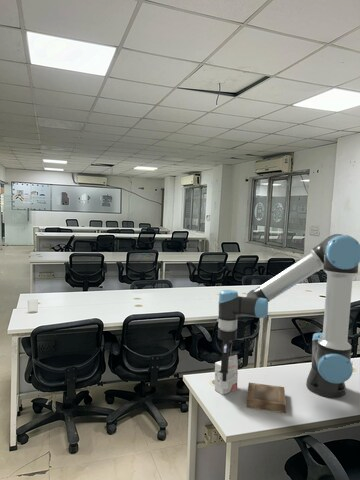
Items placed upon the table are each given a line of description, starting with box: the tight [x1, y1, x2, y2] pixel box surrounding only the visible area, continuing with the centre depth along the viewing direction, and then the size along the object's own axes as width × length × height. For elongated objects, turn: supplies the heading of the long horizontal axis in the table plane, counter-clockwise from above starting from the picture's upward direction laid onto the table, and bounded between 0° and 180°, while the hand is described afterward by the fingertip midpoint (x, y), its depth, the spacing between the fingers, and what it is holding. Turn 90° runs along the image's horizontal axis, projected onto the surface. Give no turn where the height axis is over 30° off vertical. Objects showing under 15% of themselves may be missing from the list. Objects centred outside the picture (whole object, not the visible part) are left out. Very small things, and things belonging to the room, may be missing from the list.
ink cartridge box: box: [214, 354, 239, 396], centre depth 143 cm, size 9×5×15 cm, turn 126°
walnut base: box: [245, 382, 287, 414], centre depth 135 cm, size 14×14×3 cm
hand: (225, 382), depth 143 cm, fingers closed on ink cartridge box, 9 cm apart
